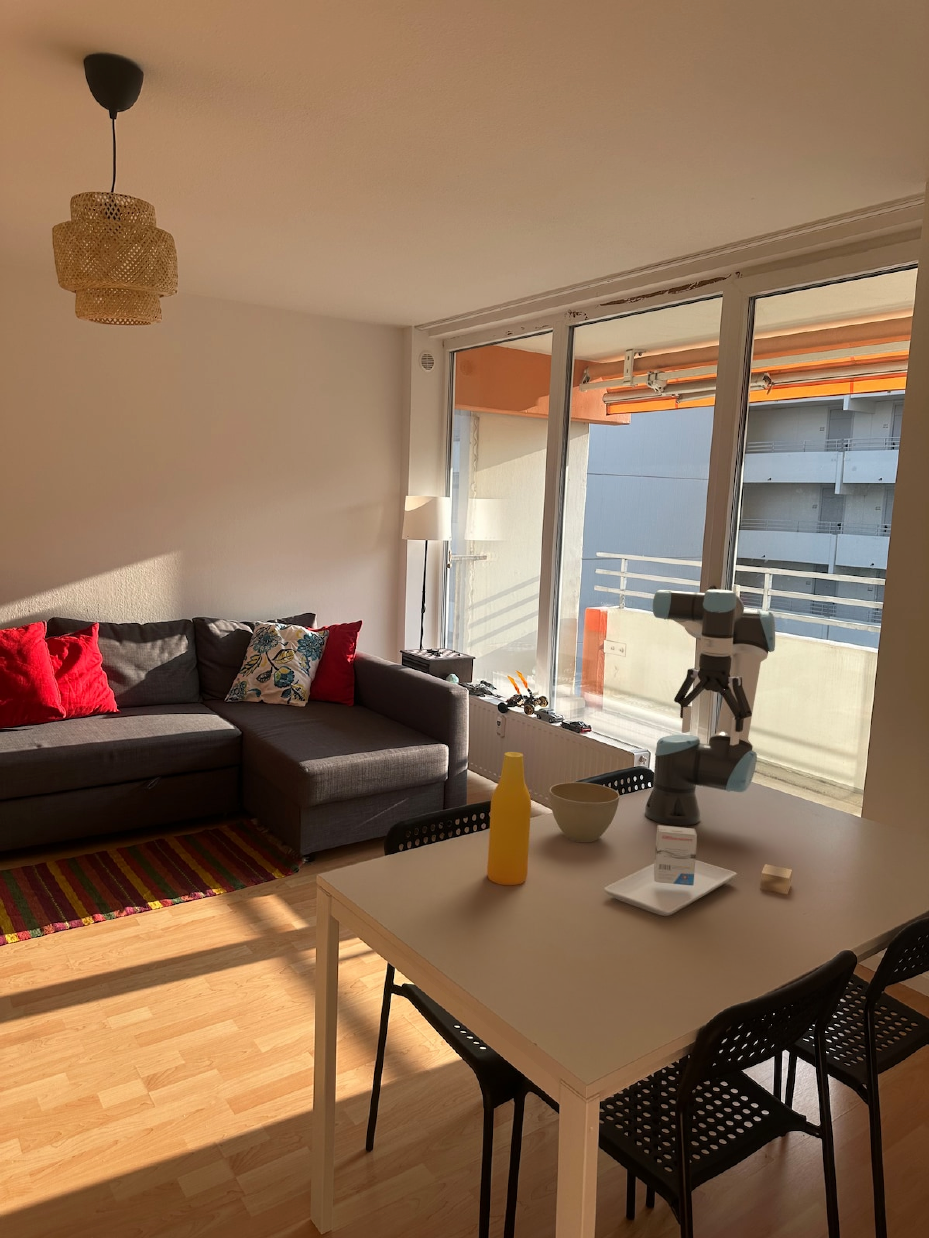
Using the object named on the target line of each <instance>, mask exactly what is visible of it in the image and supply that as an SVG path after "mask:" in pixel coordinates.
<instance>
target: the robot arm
mask: <svg viewBox="0 0 929 1238" xmlns="http://www.w3.org/2000/svg"><path fill="white" fill-rule="evenodd" d="M652 600H653V602H652V614H653V616H654V617H655V618H657V619H663V620H672V621H674V622H676V623H677V624H678V625H680V626H682V627H683V628H684V630H685V632H686V633H687V634H688V635H690V637H693V638H695V639H697V640H699V641H700V646H699V647H700V651H701V653H700V654H699V663H698V667H699V670H698V669H697V668H696V667H693V668H688V669H687V671H686V676H685V678H684V681H683V682H682V684H681V686H680V687H679V690H678V691H677V693H676V695H675V697H674V699H673V701H674V702H675V703H677V704H679V705H680V712H679V713H680V714H679V716H680V719H681V720H682V723H681V733H682V734H672V735H665V736H662V737H661V738H659V739H658V740H657V742H656V748H655V753H654V756H655V757H654V772H653V785H652V786H653V788H652V790H651V791H650V795H649V797H648V799H647V801H646V804H645V809H644V810H645V811H644V815H645V816H646V817H647V818H648V819H650V820H652V821H654V822H656V823H660V824H665V825H668V826H679V827H681V826H682V827H683V826H692V825H696V824H698V823H699V822H700V819H701V812H700V807H699V803H698V799H697V794H696V788H697V786H699V787H704V788H711V789H716V790H721V791H727V792H728V793H729V792H733V793H734V792H736V793H743V792H746V791H747V790H748V788H749V787H750V785H751V783H752V780H753V777H754V775H755V771H756V768H757V766H756V765H757V762H758V761H757V760H758V755H757V752H756V751H754V750H753V747H754V746H753V743H751V741H750V740H749V736H750V729H751V724H752V718H753V711H754V705H755V701H756V694H757V688H758V682H759V674H760V670H761V663H762V662H764V661H765V660H766V659H767V658H768V656H769V653H771V652H772V653H774V652H775V649H776V623H775V617H774V614H773V613H772V612H771V611H767V610H762V609H761V610H760V609H757V608H756V609H748V608H745V604H744V602H743V600H742V599H741V598H740V597H739V596H738V595H737V593H735V591H732V590H730V589H729V590H728V589H708V590H706V591H705V592H694V591H693V592H692V591H682V590H671V589H659V590H657V591H655V593H654V596H653V599H652ZM697 678H698V679H699V681H698V683H696V685H695V687H694V688H693V689H692V690H691V691H690V689H691V687H692V685H693V684H694V682H695V680H696V679H697ZM704 690H705V691H709V692H710V691H712V692H714V693H719V694H720V696H722V700H721V707H720V712H719V716H718V717H719V718H718V720H717V721H718V722H717V729H716V732H715V733H714V734H713V735H711V736H709V741H708V743H701V739H700V738H699V737H698V736H696V735H692V734H686V733H689V732H691V725H692V724H691V723H692V711H693V705H691V703H692V702H693V701H695V699H696V698H697V697H698V696H700V694H702V692H703V691H704ZM689 691H690V692H689ZM688 692H689V693H688Z"/></svg>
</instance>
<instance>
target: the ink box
mask: <svg viewBox="0 0 929 1238" xmlns="http://www.w3.org/2000/svg"><path fill="white" fill-rule="evenodd" d="M697 842H698V833H697V831H696V829H695V828H689V827H688V828H687V827H681V826H672V825H660V824H657V826H656V838H655V849H654V850H655V851H654V862H653V864H654V880H655V882H659V883H670V884H681V885H691V886H693V885H694V872H695V860H697V859H696V858H697V857H696V856H697V846H698V845H697Z"/></svg>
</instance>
